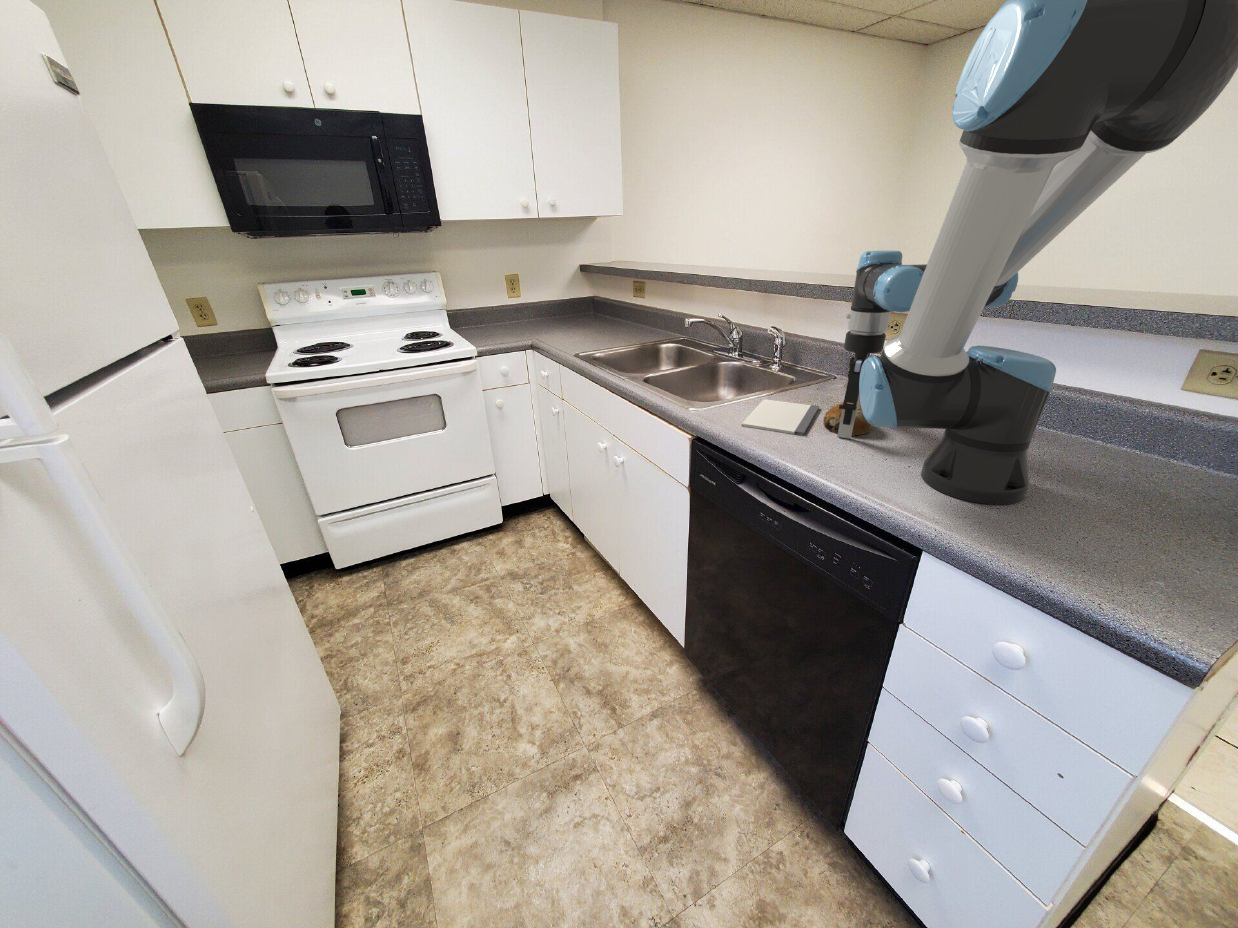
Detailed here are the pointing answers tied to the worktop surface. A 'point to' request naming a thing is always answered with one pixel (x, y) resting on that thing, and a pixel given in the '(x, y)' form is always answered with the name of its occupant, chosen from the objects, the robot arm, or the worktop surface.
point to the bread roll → (834, 418)
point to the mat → (781, 417)
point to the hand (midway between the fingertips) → (847, 427)
